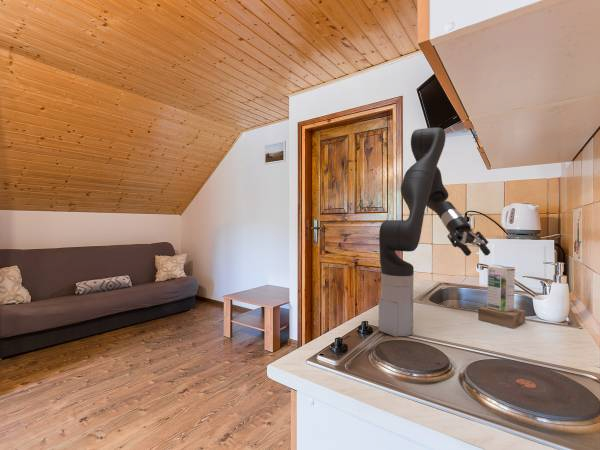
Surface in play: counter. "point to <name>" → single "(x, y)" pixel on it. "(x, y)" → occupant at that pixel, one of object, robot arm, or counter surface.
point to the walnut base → (502, 317)
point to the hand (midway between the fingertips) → (478, 254)
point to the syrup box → (501, 288)
